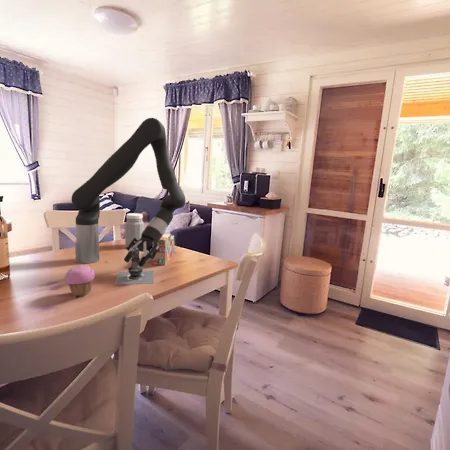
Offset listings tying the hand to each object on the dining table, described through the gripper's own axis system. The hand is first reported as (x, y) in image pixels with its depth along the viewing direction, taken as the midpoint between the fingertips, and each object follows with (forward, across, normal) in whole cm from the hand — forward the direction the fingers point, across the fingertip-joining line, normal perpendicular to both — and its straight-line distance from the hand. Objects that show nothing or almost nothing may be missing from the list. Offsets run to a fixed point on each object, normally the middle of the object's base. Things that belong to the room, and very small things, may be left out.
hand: (132, 263), depth 113 cm
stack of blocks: (-15, -10, +24) cm, 30 cm away
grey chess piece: (+3, 0, +5) cm, 6 cm away
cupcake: (+19, -1, -10) cm, 22 cm away
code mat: (+3, 0, +5) cm, 6 cm away
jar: (-18, -37, +27) cm, 49 cm away
